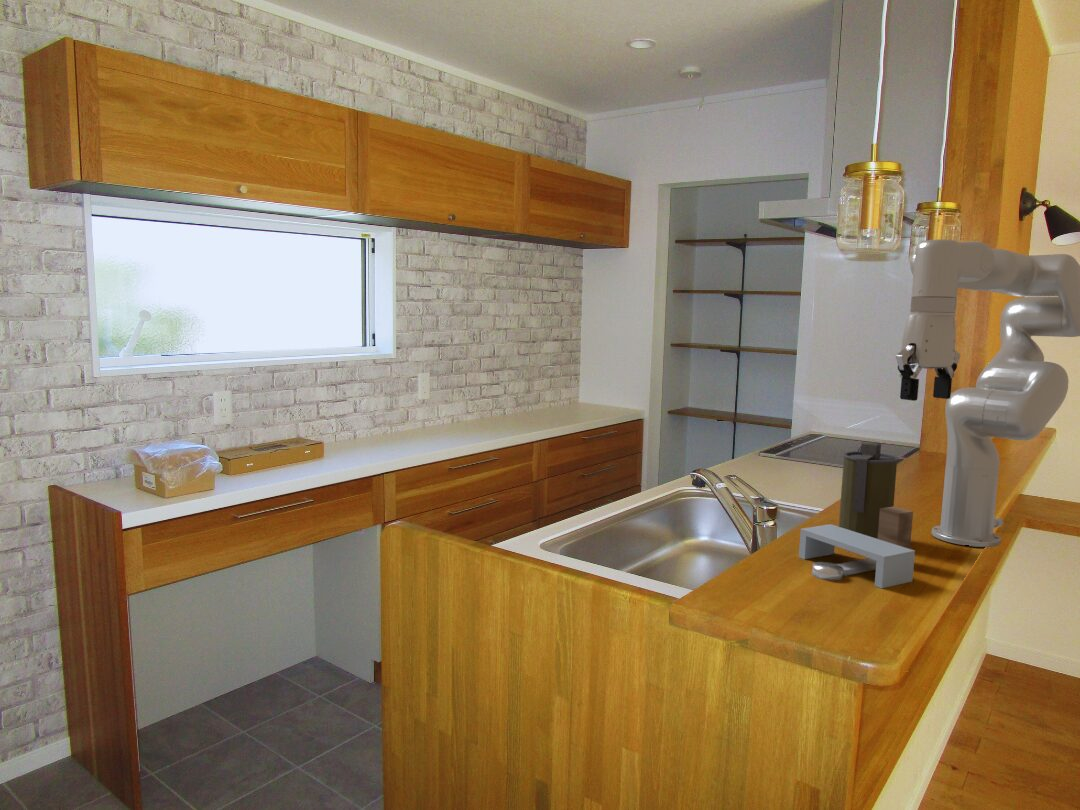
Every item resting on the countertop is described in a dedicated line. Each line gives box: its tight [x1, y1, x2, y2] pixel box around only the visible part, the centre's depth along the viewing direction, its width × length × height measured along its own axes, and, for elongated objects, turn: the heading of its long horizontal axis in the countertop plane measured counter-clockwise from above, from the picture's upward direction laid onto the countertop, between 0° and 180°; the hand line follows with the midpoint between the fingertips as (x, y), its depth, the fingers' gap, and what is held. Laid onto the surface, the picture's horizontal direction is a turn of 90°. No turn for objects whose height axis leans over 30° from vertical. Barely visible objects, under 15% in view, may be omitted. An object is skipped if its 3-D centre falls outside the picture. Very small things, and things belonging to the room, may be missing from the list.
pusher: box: [835, 505, 914, 577], centre depth 137 cm, size 16×4×10 cm, turn 118°
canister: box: [838, 441, 899, 539], centre depth 154 cm, size 11×10×20 cm
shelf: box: [798, 523, 916, 589], centre depth 136 cm, size 8×18×6 cm, turn 28°
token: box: [811, 561, 844, 582], centre depth 132 cm, size 5×5×2 cm
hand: (925, 398), depth 142 cm, fingers open, 9 cm apart
